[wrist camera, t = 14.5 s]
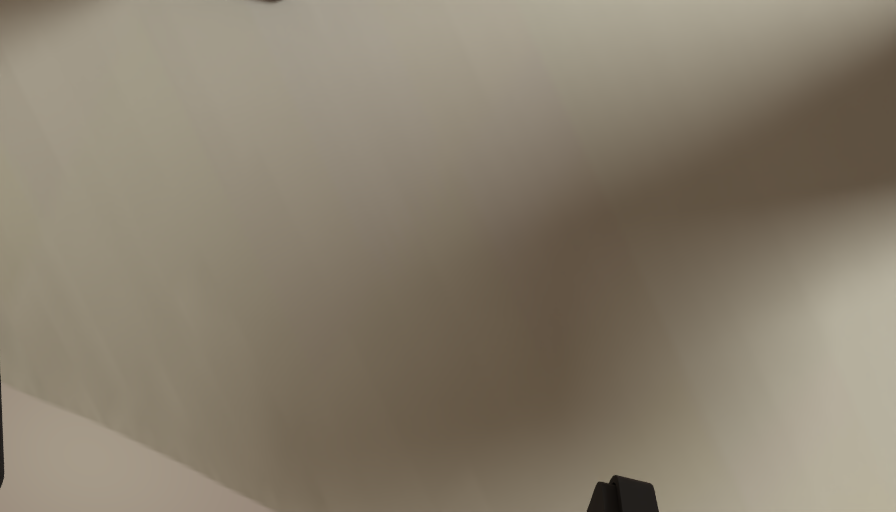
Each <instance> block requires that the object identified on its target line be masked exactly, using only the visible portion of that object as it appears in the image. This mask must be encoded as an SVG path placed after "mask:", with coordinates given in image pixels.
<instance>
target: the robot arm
mask: <svg viewBox="0 0 896 512" xmlns="http://www.w3.org/2000/svg"><path fill="white" fill-rule="evenodd" d="M1 403H2V402H1V376H0V488H1V485H2V482H3V479H4V454H3V428H2V404H1ZM587 512H659V510H658V505H657V501H656V496H655V491H654V488H653V485H652V484H650V483H647V482H642V481H638V480H634V479H630V478H626V477H622V476H617V475H614V476H613V477H612V478H611V480H610V482H609V484H608V483H604V482H598V483H597V485H596V487H595V489H594V492H593V495H592V498H591V501H590V504H589V507H588V509H587Z"/></svg>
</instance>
